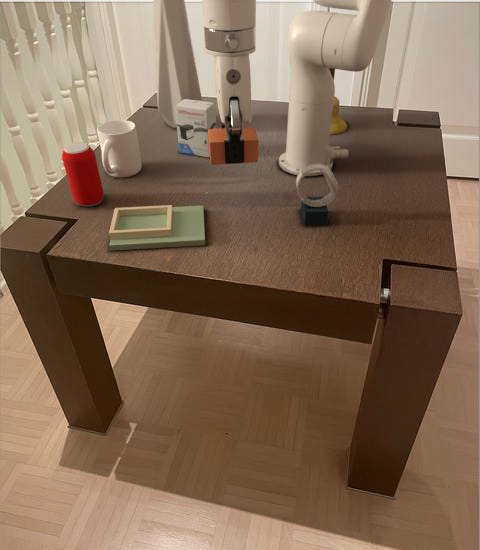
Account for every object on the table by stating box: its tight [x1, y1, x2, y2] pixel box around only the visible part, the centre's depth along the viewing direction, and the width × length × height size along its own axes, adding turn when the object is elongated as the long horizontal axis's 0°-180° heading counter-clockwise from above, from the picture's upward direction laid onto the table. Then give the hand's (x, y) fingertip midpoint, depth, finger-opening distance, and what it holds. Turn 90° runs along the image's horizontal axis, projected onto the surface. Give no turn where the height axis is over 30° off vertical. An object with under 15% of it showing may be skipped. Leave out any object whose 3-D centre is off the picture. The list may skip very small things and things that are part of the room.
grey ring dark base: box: [295, 163, 340, 227], centre depth 86 cm, size 6×8×11 cm
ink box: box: [175, 99, 217, 158], centre depth 110 cm, size 8×5×12 cm, turn 68°
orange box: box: [208, 126, 259, 166], centre depth 78 cm, size 8×6×4 cm
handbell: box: [329, 68, 348, 135], centre depth 118 cm, size 12×12×25 cm
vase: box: [152, 0, 203, 129], centre depth 117 cm, size 12×12×33 cm
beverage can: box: [61, 142, 105, 208], centre depth 91 cm, size 6×6×12 cm
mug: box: [96, 119, 143, 179], centre depth 101 cm, size 12×8×10 cm
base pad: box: [108, 204, 206, 252], centre depth 86 cm, size 17×12×3 cm
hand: (232, 153), depth 78 cm, fingers closed on orange box, 5 cm apart
